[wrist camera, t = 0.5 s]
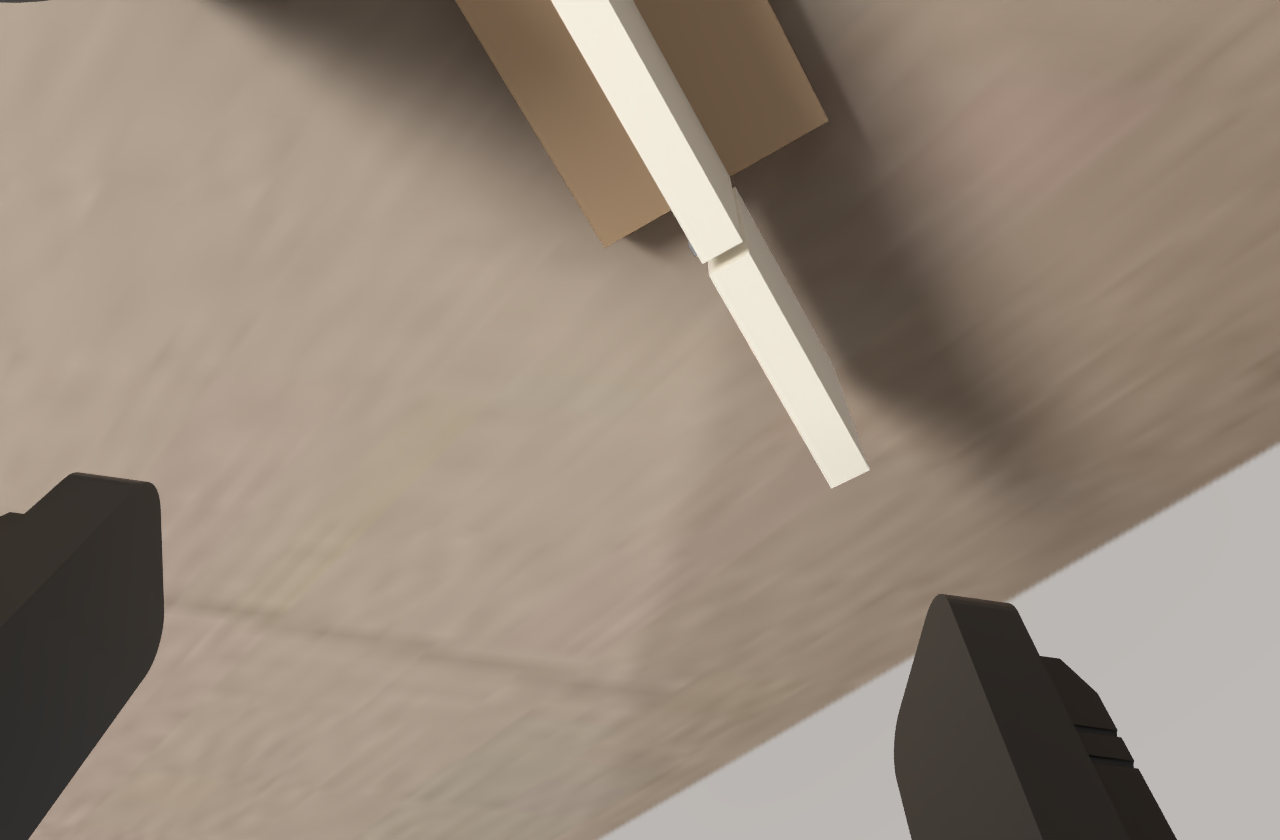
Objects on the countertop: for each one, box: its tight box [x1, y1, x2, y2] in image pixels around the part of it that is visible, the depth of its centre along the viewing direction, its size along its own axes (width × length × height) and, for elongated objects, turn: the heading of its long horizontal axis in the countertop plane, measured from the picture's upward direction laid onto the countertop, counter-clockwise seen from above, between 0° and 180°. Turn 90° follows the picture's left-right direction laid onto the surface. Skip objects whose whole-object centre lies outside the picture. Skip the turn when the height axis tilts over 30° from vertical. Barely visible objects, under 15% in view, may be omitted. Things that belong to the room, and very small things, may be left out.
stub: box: [708, 187, 870, 489], centre depth 29 cm, size 6×1×7 cm, turn 30°
